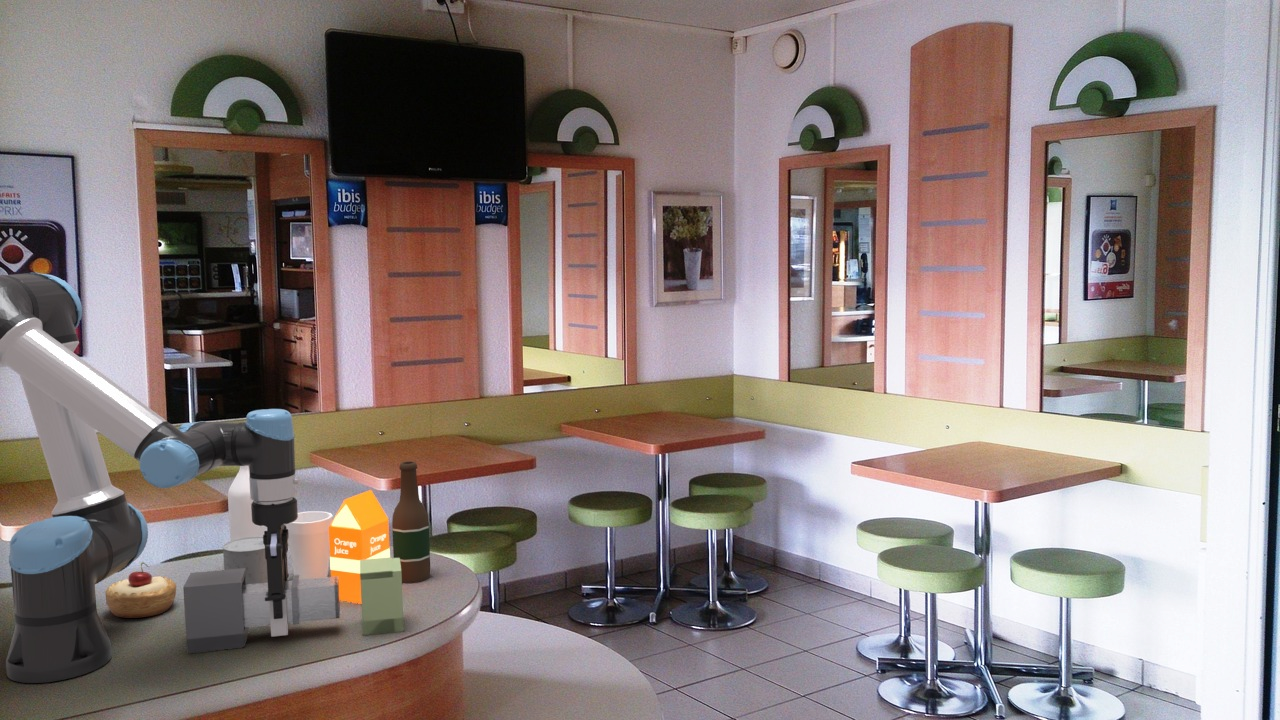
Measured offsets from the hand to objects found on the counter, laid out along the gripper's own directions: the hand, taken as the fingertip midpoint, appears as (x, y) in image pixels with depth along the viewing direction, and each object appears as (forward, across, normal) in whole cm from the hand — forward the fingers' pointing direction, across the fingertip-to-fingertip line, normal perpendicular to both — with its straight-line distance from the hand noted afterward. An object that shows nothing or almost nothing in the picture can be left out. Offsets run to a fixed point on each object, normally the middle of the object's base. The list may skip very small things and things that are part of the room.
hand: (280, 628), depth 183 cm
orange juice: (+1, +18, -14) cm, 23 cm away
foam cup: (+1, +31, -4) cm, 31 cm away
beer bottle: (+1, +26, -24) cm, 35 cm away
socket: (+1, 0, -17) cm, 17 cm away
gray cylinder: (+1, +17, +6) cm, 18 cm away
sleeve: (+1, 0, +10) cm, 10 cm away
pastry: (+2, +21, +26) cm, 34 cm away
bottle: (+1, +39, +8) cm, 40 cm away
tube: (-2, 0, +2) cm, 3 cm away
